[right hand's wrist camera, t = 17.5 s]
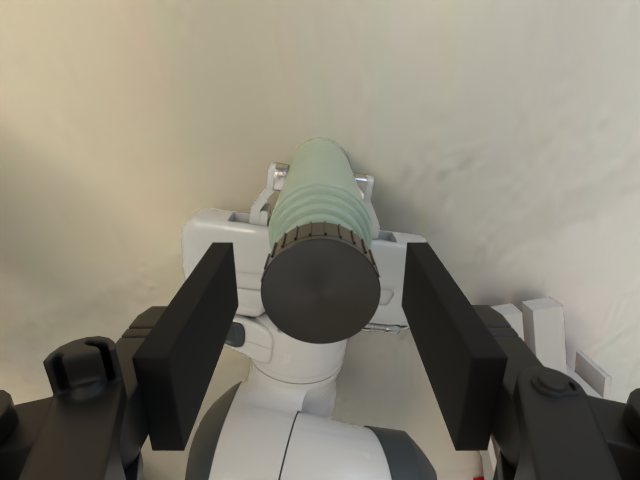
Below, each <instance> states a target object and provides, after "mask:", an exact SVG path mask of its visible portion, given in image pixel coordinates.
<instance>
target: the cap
mask: <svg viewBox="0 0 640 480" xmlns="http://www.w3.org/2000/svg"><path fill="white" fill-rule="evenodd" d="M379 278H380V275H379V272H378V269H377V265H376V262H375V260H374V257H373V254H372V251H371V249H368V247H367V245H366V244H365V242H364V239H363V238H362V239H361V238H360V237H359V236H358V235H356V234H355V233H354V231H353V230H349V229H347V228H345V227H343V226H341V224H338V225H337V224H333V223H326V221H324V222H314V223H312V222H310V223H308V224H304V225H301V226H299V227H298V225H297V226H296V228H294V229H292V230H291V231H289V232H287V233H284V234H283V236H282V237H281V238H280V239H279V241H278V242H277V243H276V242H275V243H274V246H273V249H272V251H271V253H268V256H267V260H266V263H265V266H264V272H263V275H262V278H261V282H262V283H261V300H262V304H263V307H264V310H265V312H266V314H267V315H268V317H269V319H270V320H271V321H272V323H273V324H274V325H275V326H276V327H277V328H278V329H279V330H281V331H282V332H283V333H285V334H286V335H288V336H290V337H292V338H294V339H296V340H299V341H302V342H306V343H312V344H329V343H335V342H339V341H342V340H345V339H347V338H349V337H351V336H353V335H355V334H356V333H358V332H359V331H361V330H362V329H363V328H364V327H365V326H366V325H367V324H368V323H369V322H370V321H371V319H372V318H373V316H374V314H375V312H376V310H377V308H378V305H379V302H380V295H381V287H380V281H379Z"/></svg>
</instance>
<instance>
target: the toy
mask: <svg viewBox="0 0 640 480" xmlns="http://www.w3.org/2000/svg"><path fill="white" fill-rule="evenodd" d="M491 308H493V309H494V310H496V311H497V312H499V313H500V314H502V315H503V316H504V317H505V319H506V320H507V321H508V322H509V324H510V325H511V328H513V329H514V330H515V331H516V332H517V333H518V336H519V337H521V338H522V340H523V341H524V342H525V343H526V345H527V346H528V347H529V348H530V350H531V351H532V352H533V353H534V355H535V356H536V357H537V358H538V359H539V361H540V362H541V363H542V364H543V366H544V367H548V368H551V369H555V370H558V371H560V372H562V373H564V374H566V375H568V376H570V377H571V378H572V379H574V380H575V381H576V382H577V383H579V384H580V385H581V386H582V388H583V389H584V391H585V392H586V394H587V395H590V396H593V397H597V398H602V399H607V400H609V399H610V389H611V378H612V377H611V376H610V375H609V374H608V373H606V372H605V371H604V370H603V369H602V368H601V367H600V366H599V365H597V364H596V363H595V362H594V361H593V360H592V359H591V358H590V357H588V356H587V355H586V354H585V353H584V352H583V351H576V364H575V372H574V371H573V370H572V369H571V368H570V367H569V366H568V365H567V364H566V349H565V331H564V312H563V305H561V304H560V303H558V302H557V301H555V300H554V299H553V298H551V297H546V298H540V299H534V300H528V301H522V312H521V311H520V310H519V309H517V308H516V307H515V306H514V305H513V304H512V303H510V304H504V305H498V306H492V307H491ZM522 313H523V316H522ZM499 451H500V448H499V446H498V444H497V442H496V440H495V438H494V436H493V434H492V432H491V437H490V441H489V446H488V450H487V451H479V452H480V455H481V457H482V464H483V472H484V477H483V478H475V479H474V480H493V476H494V472H495V467H496V463H497V459H498V455H499Z"/></svg>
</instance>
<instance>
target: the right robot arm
mask: <svg viewBox="0 0 640 480" xmlns="http://www.w3.org/2000/svg"><path fill="white" fill-rule="evenodd" d="M238 306H239V304H238V293H237V282H236V271H235V260H234V249H233V242H213V243H212V244H211V245H210V247H209V248H208V250H207V251H206V252H205V254H204V255H203V257H202V258H201V260H200V261H199V262H198V264H197V265H196V267H195V268H194V270H193V271H192V272H191V274H190V275H189V277H188V278H187V280H186V281H185V282H184V284H183V285H182V287H181V288H180V290H179V291H178V292H177V294H176V295H175V297H174V298H173V300H172V301H171V302H170V304H169V305H168V306H152V307H151V308H149V309H148V310H146V311H145V312H143V313H142V314H140V315H139V316H137V318H136V319H135V320H134V321H133V323H132V324H131V325H130V326H129V329H127V330H126V331H125V333H124V334H123V335H122V338H120V339H119V340H118V341H117V343H116V344H115V342H113V341H112V340H111V339H109V338H106V337H100V336H96V337H86V338H82V339H78V340H75V341H72V342H70V343H67V344H65V345H63V346H61V347H59V348H58V349H56V350H55V351H54V352H52V353H51V354H49V356H48V357H47V358H46V359H45V361H44V362H43V363H44V367H45V370H46V373H47V376H48V379H49V382H50V385H51V388H52V391H53V397H49V398H45V399H41V400H36V401H32V402H27V403H23V404H18V405H14V403H13V400H12V398H11V395H10V394H9V393H7V392H6V391H4V390H0V480H142V473H143V460H142V455H141V451H140V450H141V448H142V446H143V444H144V442H145V440H146V438H147V436H148V434H149V437H150V441H151V446H152V450H153V451H184V450H185V447H186V444H187V442H188V439H189V436H190V434H191V431H192V428H193V426H194V423H195V420H196V418H197V415H198V412H199V410H200V407H201V404H202V402H203V399H204V396H205V394H206V391H207V388H208V386H209V383H210V380H211V378H212V375H213V373H214V370H215V367H216V365H217V362H218V359H219V357H220V354H221V351H222V349H223V346H224V343H225V341H226V338H227V335H228V333H229V330H230V327H231V325H232V322H233V319H234V317H235V314H236V311H237V309H238ZM401 306H402V309H403V311H404V314H405V317H406V319H407V322H408V325H409V327H410V330H411V333H412V335H413V338H414V341H415V343H416V346H417V349H418V351H419V354H420V357H421V359H422V362H423V365H424V367H425V370H426V373H427V375H428V378H429V380H430V383H431V386H432V388H433V391H434V394H435V396H436V399H437V402H438V404H439V407H440V410H441V412H442V415H443V418H444V420H445V423H446V426H447V428H448V431H449V434H450V436H451V439H452V442H453V444H454V447H455V450H456V451H487V450H488V446H489V441H490V437H491V432H492V434H493V436H494V438H495V440H496V442H497V444H498V446H499V448H500V451H499V455H498V459H497V463H496V467H495V472H494V476H493V480H640V388H638V389H635V390H634V391H632V392H631V393H630V395H629V398H628V400H627V403H626V404H625V403H620V402H616V401H611V400H607V399H602V398H597V397H593V396H590V395H587V394H586V392H585V391H584V389H583V388H582V386H581V385H580V384H579V383H577V382H576V381H575V380H574V379H572V378H571V377H570V376H568V375H566V374H564V373H562V372H560V371H558V370H555V369H551V368H548V367H544V366H543V364H542V363H541V362H540V361H539V359H538V358H537V357H536V356H535V355H534V353H533V352H532V351H531V350H530V348H529V347H528V346H527V345H526V343H525V342H524V341H523V340H522V338H521V337H519V336H518V333H517V332H516V331H515V330H514V329H513V328H511V325H510V324H509V322H508V321H507V320H506V319H505V317H504V316H503V315H502V314H500V313H499V312H497V311H496V310H494V309H493V308H491V307H490V306H488V305H471V304H470V302H469V301H468V300H467V298H466V297H465V295H464V294H463V292H462V291H461V290H460V288H459V287H458V285H457V284H456V282H455V281H454V280H453V278H452V277H451V275H450V274H449V272H448V271H447V270H446V268H445V267H444V265H443V264H442V262H441V261H440V260H439V258H438V257H437V255H436V254H435V252H434V251H433V250H432V248H431V247H430V245H429V244H428V243H427V242H407V249H406V260H405V271H404V282H403V293H402V304H401Z"/></svg>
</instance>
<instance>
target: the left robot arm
mask: <svg viewBox="0 0 640 480" xmlns="http://www.w3.org/2000/svg"><path fill="white" fill-rule="evenodd" d="M288 171H289V165H287V164H281V163H274V162H271V163H270V164H269V168H268V176H267V185H266V187H265V188H264V189H263V191H262V192H261V193H260V195H259V196H258V198H257V199H256V200H255V202H254V203H253V205H252V207H251V208H250V213H244V212H236V211H229V210H221V209H213V208H201V209H200V210H198V211H197V212H196V213H195V214H193V215H192V216H191V217H190V218H189V219H188V220H187V222H186V223H185V224H184V226H183V229H182V259H183V269H184V275H185V281H186V280H187V278H188V277H189V275H190V274H191V272H192V271H193V270H194V268H195V267H196V265H197V264H198V262H199V261H200V260H201V258H202V257H203V255H204V254H205V252H206V251H207V250H208V248H209V247H210V245H211V244H212V243H213V242H233V249H234V260H235V271H236V282H237V293H238V304H239V306H238V309H237V311H236V314H235V317H234V319H233V322H232V325H231V327H230V330H229V333H228V335H227V338H226V341H225V343H224V346H227V347H229V348H232V349H234V350H236V351H238V352H240V353H242V354H244V355H246V356H248V357H249V358H250V364H251V367H250V372H249V375H248V377H247V380H246V381H245V382H242V381H241V382H239V383H237V384H236V385H234V386H233V387H232V388H230V389H229V390H228V391H227V392H226V393H225V394H224V395H222V396H221V397H220V398H219V399H218V400H217V401H216V402H215V403H214V404H213V405H212V406H211V407H210V409H209V410H208V411H207V413H206V414H205V416H204V417H203V419H202V421H201V423H200V425H199V427H198V429H197V431H196V434H195V436H194V439H193V442H192V445H191V449H190V453H189V458H188V463H187V469H186V477H185V480H437V475H436V471H435V469H434V468H433V466H432V464H431V463H430V461H429V460H428V458H427V457H426V455H425V454H424V453H423V451H422V450H421V449H420V448H419V446H418V445H417V444H416V443H415V442H414V440H413V439H412V438H411V437H410V436H409V435H408V434H407V433H406V432H405V431H401V430H394V429H387V428H379V427H372V426H363V427H362V426H358V425H353V424H349V423H345V422H340V421H336V420H332V419H331V418H332V414H333V410H334V406H335V401H336V394H337V390H336V382H335V379H336V377H337V375H338V373H339V371H340V370H341V367H342V364H343V360H344V355H345V349H346V344H347V339H348V338H347V339H345V340H342V341H339V342H335V343H329V344H312V343H306V342H302V341H299V340H296V339H294V338H292V337H290V336H288V335H286V334H285V333H283V332H282V331H281V330H279V329H278V328H277V327H276V326H275V325H274V324H273V323H272V321H271V320H270V319H269V317H268V315H267V314H266V312H265V310H264V307H263V304H262V300H261V283H262V282H261V278H262V275H263V272H264V266H265V263H266V260H267V256H268V253H271V248H270V243H269V232H268V230H269V222H270V218H271V216H270V213H271V205H270V204H267V203H266V202H267V200H268V199H269V198H270V196H271V195H272V194H273V192H274V191H275V190H280V191H281V189H282V186H283V184H284V181H285V178H286V176H287V173H288ZM353 175H354V177H355V180H356V182H357V185H358V187H359V190H360V192H361V195H362V197H363V200H364V202H365V205H366V208H367V210H368V213H369V215H370V218H371V222H372V243H371V248H370V249H371V251H372V254H373V257H374V260H375V262H376V265H377V269H378V272H379V275H380V278H379V281H380V287H381V295H380V302H379V305H378V308H377V310H376V312H375V314H374V316H373V318H372V319H371V321H370V322H369V323H368V324H367V325H366V326H365V327H364V328H363V329H362V330H361V331H378V332H384V333H387V334H398V333H399V332H400V331H401V330H406V329H409V328H410V327H409V325H408V322H407V319H406V317H405V314H404V311H403V309H402V306H401V304H402V293H403V282H404V271H405V260H406V249H407V242H427V241H426V240H425V239H424V238H423V237H422V236H421V235H416V234H408V233H401V232H393V231H385V230H379V229H380V224H379V221H378V219H377V216H376V213H375V211H374V208H373V205H372V202H371V195H372V190H373V184H374V178H373V177H372V176H370V175H363V174H353ZM427 243H428V242H427ZM400 325H403V326H400Z"/></svg>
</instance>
